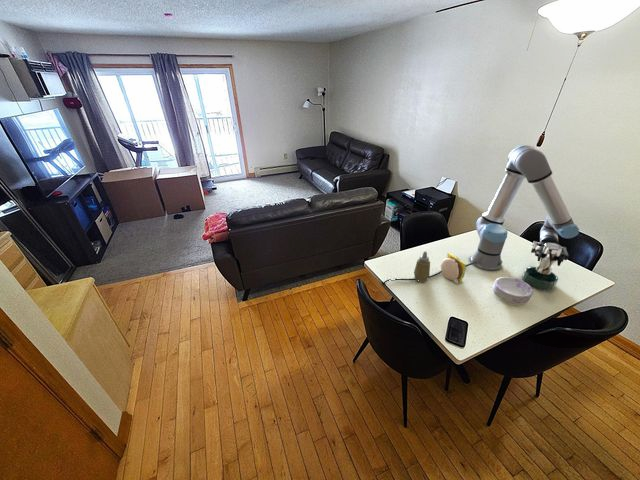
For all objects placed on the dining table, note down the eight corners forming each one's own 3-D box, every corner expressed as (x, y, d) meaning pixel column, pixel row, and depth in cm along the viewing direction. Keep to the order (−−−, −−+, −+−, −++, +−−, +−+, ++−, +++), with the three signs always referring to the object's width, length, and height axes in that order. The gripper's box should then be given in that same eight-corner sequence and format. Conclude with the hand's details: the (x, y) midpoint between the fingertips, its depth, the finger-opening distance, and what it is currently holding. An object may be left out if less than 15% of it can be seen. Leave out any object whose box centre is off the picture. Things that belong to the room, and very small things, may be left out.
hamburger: (436, 273, 149) (439, 255, 143) (448, 269, 151) (452, 252, 146) (452, 285, 139) (456, 266, 133) (464, 281, 141) (469, 263, 136)
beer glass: (554, 275, 130) (566, 249, 123) (538, 274, 132) (549, 249, 125) (546, 267, 136) (557, 242, 129) (531, 266, 138) (541, 242, 130)
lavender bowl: (483, 292, 133) (487, 279, 130) (507, 285, 137) (512, 273, 133) (510, 312, 121) (515, 299, 117) (535, 305, 124) (542, 292, 120)
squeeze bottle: (410, 279, 145) (414, 252, 136) (416, 273, 150) (421, 246, 141) (424, 285, 140) (429, 257, 131) (430, 278, 145) (436, 250, 136)
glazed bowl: (528, 289, 133) (532, 281, 131) (517, 274, 145) (520, 265, 142) (559, 292, 131) (564, 283, 128) (545, 276, 142) (549, 267, 139)
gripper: (570, 252, 138) (573, 273, 123) (524, 242, 149) (521, 261, 133) (576, 239, 135) (580, 260, 119) (528, 230, 146) (526, 249, 130)
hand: (549, 261), depth 126 cm, fingers closed on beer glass, 7 cm apart
